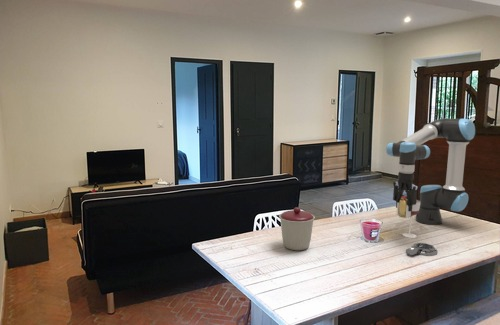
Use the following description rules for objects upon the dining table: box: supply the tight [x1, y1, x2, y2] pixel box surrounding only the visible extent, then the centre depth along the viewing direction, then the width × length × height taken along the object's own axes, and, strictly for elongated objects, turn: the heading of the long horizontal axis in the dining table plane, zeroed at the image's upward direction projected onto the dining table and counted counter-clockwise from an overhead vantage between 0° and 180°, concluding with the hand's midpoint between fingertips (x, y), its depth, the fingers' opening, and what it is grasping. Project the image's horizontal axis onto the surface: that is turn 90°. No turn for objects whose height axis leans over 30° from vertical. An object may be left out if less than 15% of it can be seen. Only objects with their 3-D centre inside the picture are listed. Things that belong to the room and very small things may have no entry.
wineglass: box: [402, 199, 420, 239], centre depth 205 cm, size 8×9×20 cm
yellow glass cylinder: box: [398, 195, 408, 219], centre depth 193 cm, size 5×5×11 cm
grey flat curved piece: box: [405, 242, 438, 257], centre depth 183 cm, size 18×12×4 cm, turn 121°
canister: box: [278, 206, 316, 251], centre depth 189 cm, size 18×18×21 cm
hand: (403, 215), depth 194 cm, fingers closed on yellow glass cylinder, 5 cm apart
